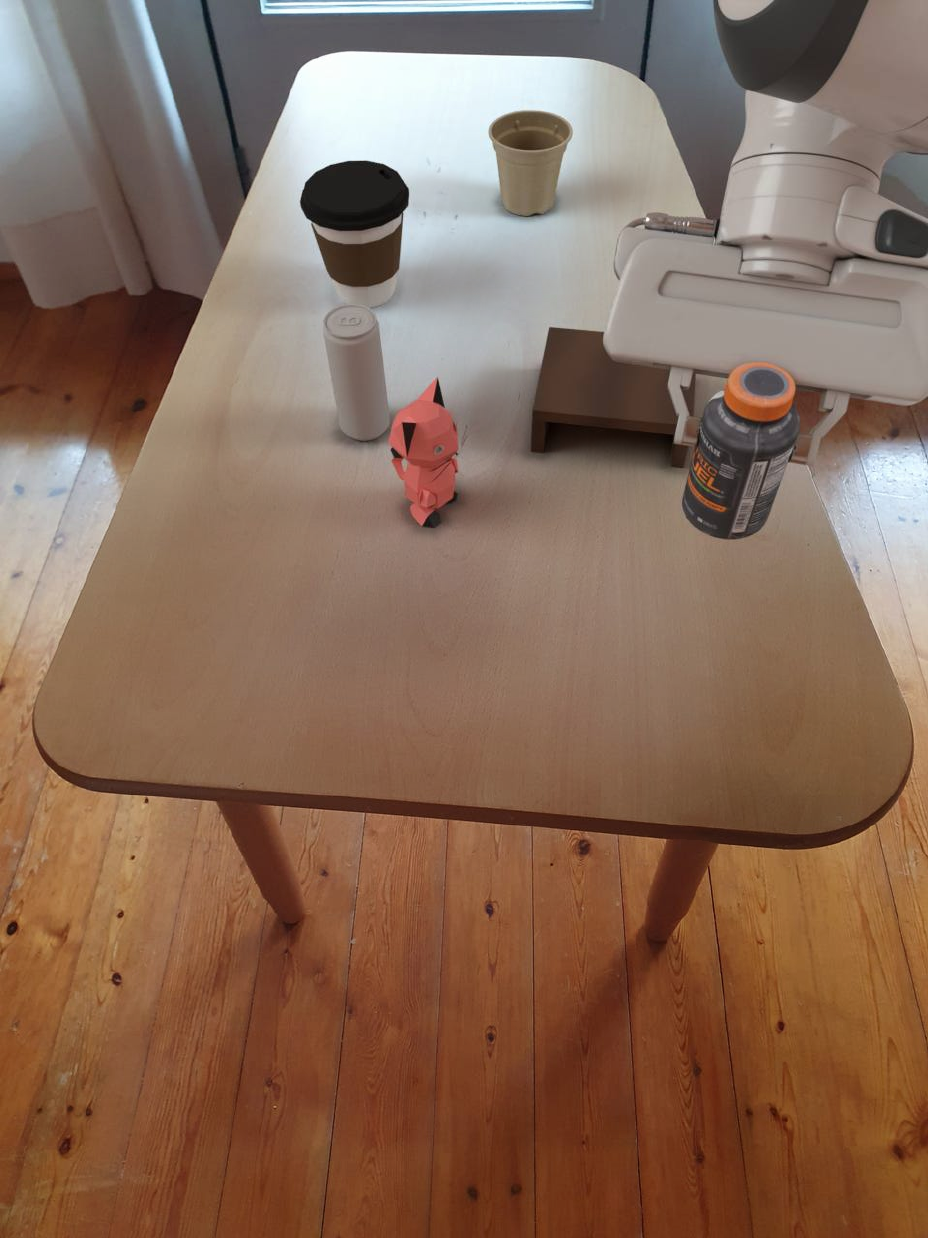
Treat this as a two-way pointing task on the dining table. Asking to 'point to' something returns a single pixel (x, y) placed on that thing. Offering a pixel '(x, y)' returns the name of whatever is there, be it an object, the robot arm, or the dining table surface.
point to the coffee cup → (358, 227)
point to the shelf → (602, 391)
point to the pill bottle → (742, 452)
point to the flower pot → (529, 158)
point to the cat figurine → (426, 454)
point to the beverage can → (357, 371)
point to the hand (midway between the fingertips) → (742, 454)
